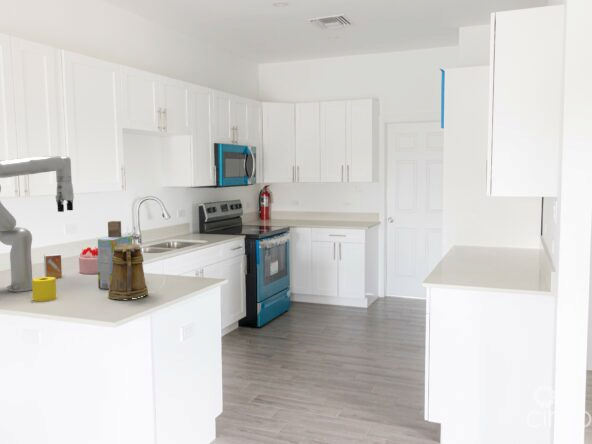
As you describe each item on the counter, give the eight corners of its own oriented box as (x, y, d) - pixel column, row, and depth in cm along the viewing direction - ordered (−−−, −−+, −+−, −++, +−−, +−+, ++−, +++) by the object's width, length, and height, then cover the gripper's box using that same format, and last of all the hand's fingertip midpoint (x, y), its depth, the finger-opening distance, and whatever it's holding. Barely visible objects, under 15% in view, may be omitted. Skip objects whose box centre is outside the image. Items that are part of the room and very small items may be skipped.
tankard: (144, 290, 267) (142, 241, 265) (152, 300, 246) (151, 247, 243) (106, 293, 259) (104, 243, 257) (111, 304, 238) (109, 250, 236)
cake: (75, 270, 320) (74, 247, 318) (108, 267, 332) (107, 244, 330) (85, 276, 304) (83, 251, 303) (119, 271, 316) (118, 248, 315)
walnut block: (117, 237, 275) (117, 222, 274) (108, 237, 275) (107, 222, 274) (121, 236, 280) (120, 221, 279) (112, 236, 280) (111, 221, 279)
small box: (46, 279, 295) (45, 256, 294) (44, 277, 300) (43, 254, 299) (62, 277, 299) (61, 254, 298) (60, 275, 305) (59, 253, 303)
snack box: (113, 289, 268) (111, 239, 266) (97, 289, 270) (95, 239, 267) (134, 281, 289) (132, 234, 287) (119, 280, 291) (118, 234, 289)
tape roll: (33, 297, 253) (32, 277, 252) (56, 295, 257) (55, 276, 256) (32, 302, 244) (31, 281, 243) (56, 299, 248) (55, 280, 247)
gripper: (62, 179, 279) (64, 212, 280) (78, 179, 296) (79, 209, 297) (48, 179, 279) (50, 212, 281) (65, 179, 296) (66, 209, 298)
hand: (65, 210), depth 289 cm, fingers open, 9 cm apart
